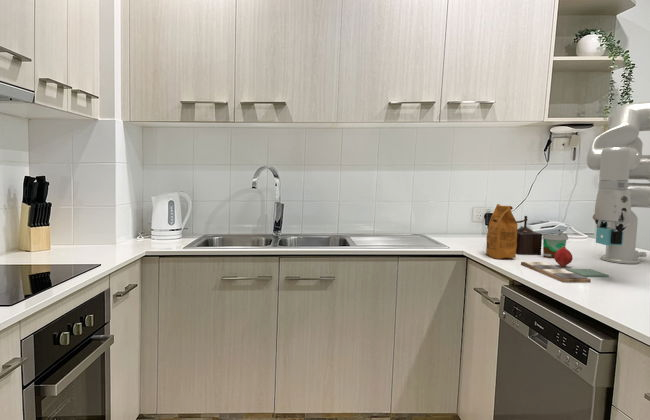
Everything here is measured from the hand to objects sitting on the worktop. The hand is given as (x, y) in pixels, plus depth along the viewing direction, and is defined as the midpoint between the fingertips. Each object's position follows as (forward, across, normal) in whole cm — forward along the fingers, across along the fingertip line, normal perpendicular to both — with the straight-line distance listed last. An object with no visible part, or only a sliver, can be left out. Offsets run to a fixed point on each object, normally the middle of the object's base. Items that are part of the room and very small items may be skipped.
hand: (609, 241), depth 126 cm
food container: (+13, +36, -7) cm, 39 cm away
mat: (+13, +9, 0) cm, 15 cm away
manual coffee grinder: (+13, +47, +4) cm, 49 cm away
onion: (+13, +19, +2) cm, 23 cm away
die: (+1, 0, 0) cm, 1 cm away
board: (+13, +10, +12) cm, 20 cm away
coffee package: (+13, +37, +17) cm, 43 cm away
